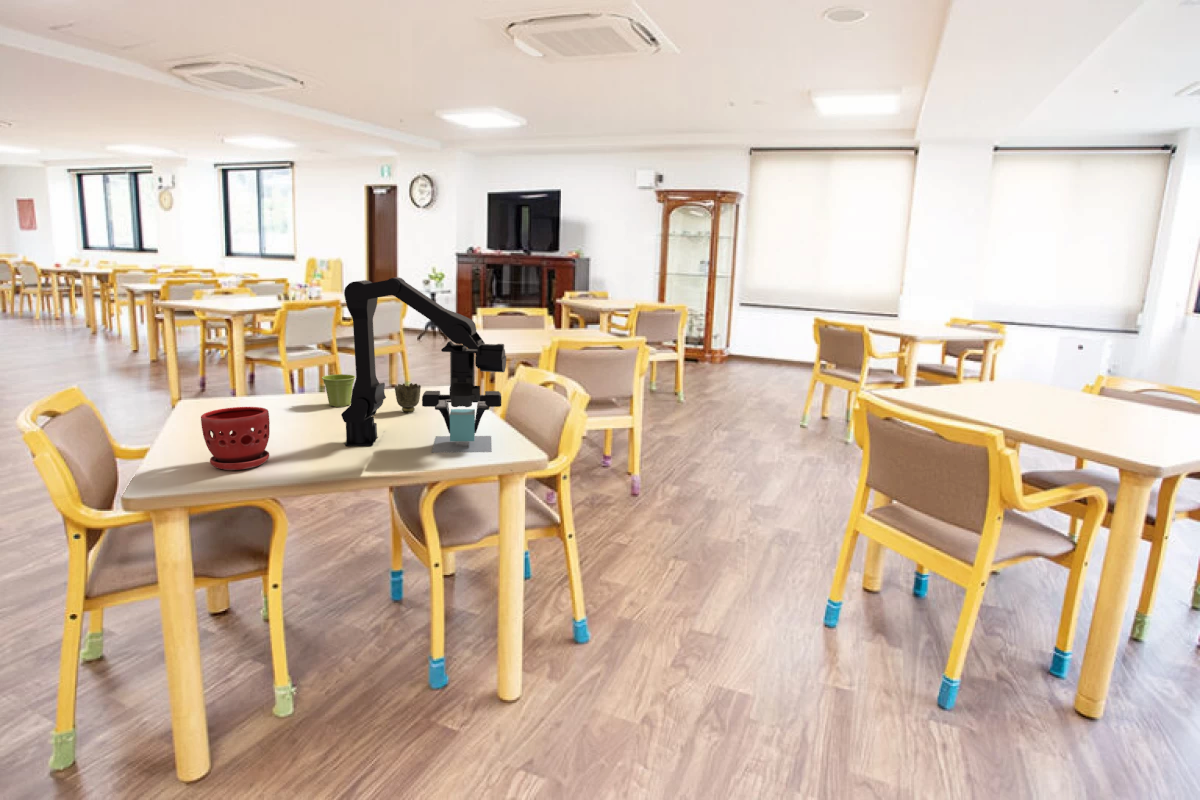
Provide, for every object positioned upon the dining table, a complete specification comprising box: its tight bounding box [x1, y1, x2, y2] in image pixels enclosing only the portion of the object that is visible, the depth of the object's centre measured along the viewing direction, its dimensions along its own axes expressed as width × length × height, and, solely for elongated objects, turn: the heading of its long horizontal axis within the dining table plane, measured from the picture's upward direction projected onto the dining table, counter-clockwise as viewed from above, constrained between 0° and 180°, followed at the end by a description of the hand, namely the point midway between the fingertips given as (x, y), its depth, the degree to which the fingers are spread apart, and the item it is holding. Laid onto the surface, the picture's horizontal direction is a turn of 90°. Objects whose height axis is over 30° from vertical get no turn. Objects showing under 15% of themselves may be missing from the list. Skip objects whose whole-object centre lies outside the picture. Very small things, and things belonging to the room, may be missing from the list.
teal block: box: [449, 408, 476, 441], centre depth 169 cm, size 6×6×7 cm
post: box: [456, 441, 469, 446], centre depth 169 cm, size 3×3×5 cm
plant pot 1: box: [200, 406, 270, 471], centre depth 150 cm, size 13×13×12 cm
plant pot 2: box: [321, 373, 356, 408], centre depth 207 cm, size 9×9×9 cm
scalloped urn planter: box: [393, 382, 422, 414], centre depth 202 cm, size 8×7×8 cm
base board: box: [431, 435, 493, 454], centre depth 170 cm, size 14×14×1 cm
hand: (462, 432), depth 169 cm, fingers closed on teal block, 6 cm apart
